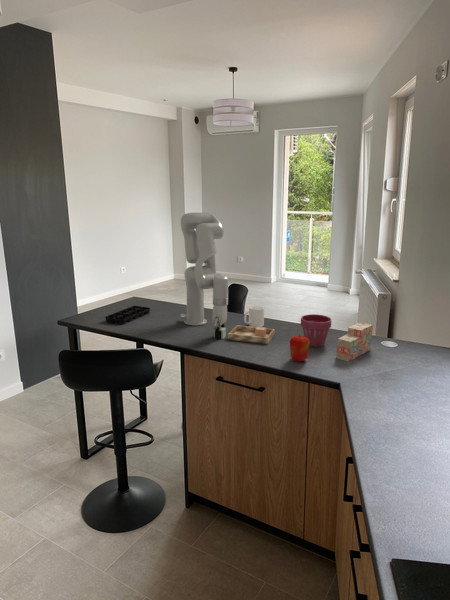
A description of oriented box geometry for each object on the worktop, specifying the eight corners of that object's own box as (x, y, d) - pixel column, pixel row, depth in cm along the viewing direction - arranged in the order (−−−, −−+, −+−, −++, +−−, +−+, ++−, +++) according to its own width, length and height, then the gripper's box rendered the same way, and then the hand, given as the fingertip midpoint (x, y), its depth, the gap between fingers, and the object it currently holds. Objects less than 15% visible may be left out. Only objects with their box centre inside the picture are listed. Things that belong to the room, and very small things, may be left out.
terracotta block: (254, 337, 210) (255, 329, 209) (257, 335, 214) (257, 326, 213) (263, 338, 209) (264, 330, 208) (265, 336, 213) (266, 327, 212)
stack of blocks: (349, 362, 182) (351, 335, 179) (335, 358, 186) (337, 331, 183) (370, 349, 197) (373, 324, 195) (358, 346, 202) (360, 321, 199)
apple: (297, 365, 178) (299, 338, 175) (284, 358, 185) (285, 332, 182) (312, 361, 183) (314, 335, 180) (299, 355, 189) (300, 329, 187)
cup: (266, 326, 231) (267, 308, 229) (248, 329, 225) (249, 311, 223) (258, 322, 238) (258, 305, 236) (240, 325, 232) (240, 307, 230)
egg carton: (152, 312, 258) (152, 306, 257) (132, 326, 230) (132, 320, 229) (125, 310, 262) (125, 304, 261) (102, 324, 233) (102, 318, 232)
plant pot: (295, 345, 202) (297, 319, 199) (303, 337, 214) (305, 312, 211) (326, 350, 196) (328, 323, 193) (332, 341, 208) (334, 316, 205)
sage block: (214, 338, 212) (214, 329, 211) (217, 335, 216) (217, 326, 215) (222, 339, 210) (223, 330, 209) (225, 336, 214) (225, 327, 213)
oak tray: (228, 339, 209) (228, 333, 208) (236, 330, 223) (236, 325, 222) (267, 344, 203) (268, 338, 202) (274, 334, 217) (274, 329, 216)
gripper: (218, 296, 218) (218, 330, 222) (207, 304, 202) (207, 340, 206) (232, 298, 216) (232, 332, 220) (222, 305, 200) (221, 342, 204)
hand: (220, 335), depth 213 cm, fingers open, 5 cm apart
